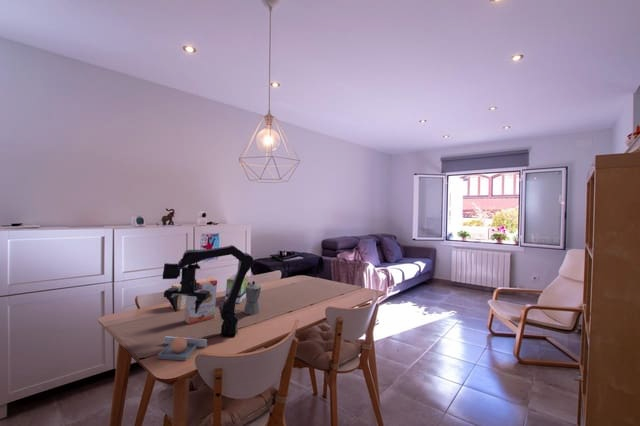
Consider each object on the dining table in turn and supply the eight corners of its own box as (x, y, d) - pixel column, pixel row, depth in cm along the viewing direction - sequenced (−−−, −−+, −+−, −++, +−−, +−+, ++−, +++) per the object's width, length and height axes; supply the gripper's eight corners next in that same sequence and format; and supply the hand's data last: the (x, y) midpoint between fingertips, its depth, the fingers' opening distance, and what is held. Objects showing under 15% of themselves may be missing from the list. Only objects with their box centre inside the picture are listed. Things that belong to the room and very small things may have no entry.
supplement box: (169, 307, 169) (171, 284, 168) (176, 305, 173) (177, 283, 173) (180, 310, 166) (182, 287, 166) (187, 307, 170) (188, 285, 170)
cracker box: (189, 324, 148) (191, 283, 148) (183, 321, 153) (186, 280, 152) (215, 318, 159) (217, 279, 158) (209, 314, 163) (212, 277, 162)
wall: (206, 346, 129) (207, 339, 129) (205, 347, 128) (206, 340, 128) (165, 343, 129) (165, 336, 128) (164, 343, 128) (164, 337, 128)
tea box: (240, 303, 184) (242, 280, 184) (224, 302, 184) (226, 278, 184) (246, 296, 199) (248, 274, 199) (232, 295, 199) (233, 273, 199)
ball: (188, 348, 125) (190, 335, 125) (182, 356, 119) (183, 341, 119) (174, 347, 125) (176, 333, 125) (167, 354, 119) (168, 340, 119)
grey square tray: (197, 347, 127) (197, 343, 127) (185, 360, 116) (185, 356, 116) (171, 345, 127) (171, 341, 127) (157, 358, 116) (157, 354, 116)
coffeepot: (263, 314, 169) (265, 283, 168) (247, 317, 164) (249, 285, 163) (253, 306, 182) (255, 277, 181) (238, 307, 177) (240, 278, 176)
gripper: (215, 275, 141) (213, 308, 141) (176, 272, 141) (174, 304, 141) (206, 281, 130) (203, 316, 130) (164, 278, 130) (161, 313, 130)
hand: (186, 312), depth 133 cm, fingers open, 9 cm apart
